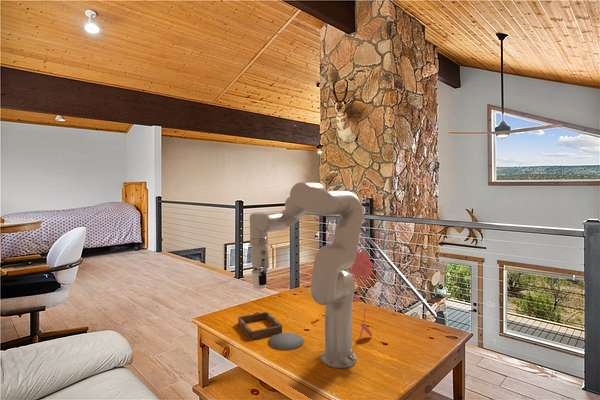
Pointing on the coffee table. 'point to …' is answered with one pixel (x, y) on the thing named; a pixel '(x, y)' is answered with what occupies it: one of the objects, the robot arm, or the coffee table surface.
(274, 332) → the brown rectangular frame
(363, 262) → the figurine
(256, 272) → the white cylinder
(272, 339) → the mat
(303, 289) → the coffee table surface
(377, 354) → the coffee table surface
